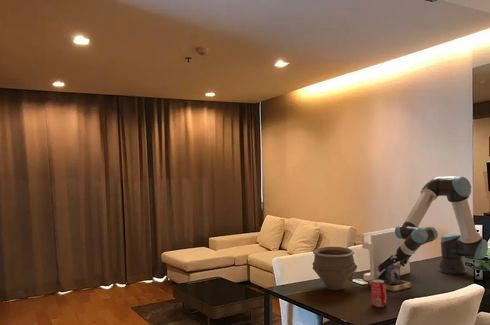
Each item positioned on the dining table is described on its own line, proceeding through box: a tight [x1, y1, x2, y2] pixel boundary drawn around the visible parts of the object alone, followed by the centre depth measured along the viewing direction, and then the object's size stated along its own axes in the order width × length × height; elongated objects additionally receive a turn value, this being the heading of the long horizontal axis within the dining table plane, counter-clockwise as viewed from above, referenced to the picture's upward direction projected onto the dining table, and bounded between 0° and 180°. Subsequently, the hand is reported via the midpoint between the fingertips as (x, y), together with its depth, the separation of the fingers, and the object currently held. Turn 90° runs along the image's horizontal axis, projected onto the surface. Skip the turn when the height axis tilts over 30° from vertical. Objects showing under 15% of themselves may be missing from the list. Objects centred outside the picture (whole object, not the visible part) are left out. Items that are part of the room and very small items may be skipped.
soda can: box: [370, 279, 388, 308], centre depth 199 cm, size 7×7×12 cm
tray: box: [368, 278, 412, 293], centre depth 231 cm, size 14×18×2 cm
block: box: [361, 227, 411, 282], centre depth 252 cm, size 35×8×28 cm, turn 124°
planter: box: [311, 246, 358, 291], centre depth 230 cm, size 25×24×22 cm
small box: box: [378, 264, 401, 286], centre depth 231 cm, size 11×6×10 cm, turn 106°
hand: (385, 272), depth 233 cm, fingers open, 13 cm apart
